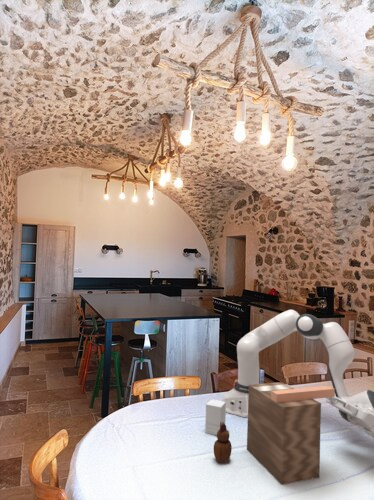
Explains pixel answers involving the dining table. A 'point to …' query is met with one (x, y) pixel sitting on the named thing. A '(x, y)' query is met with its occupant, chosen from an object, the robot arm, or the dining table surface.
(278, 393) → the terracotta bar
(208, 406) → the supplement box
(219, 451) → the wooden figurine
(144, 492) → the dining table surface
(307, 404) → the walnut pedestal
